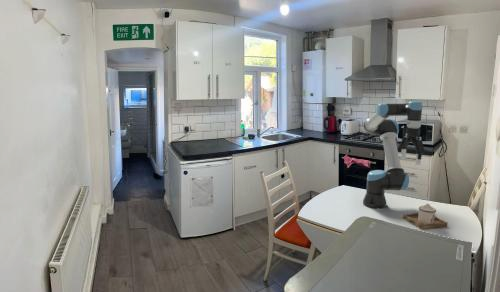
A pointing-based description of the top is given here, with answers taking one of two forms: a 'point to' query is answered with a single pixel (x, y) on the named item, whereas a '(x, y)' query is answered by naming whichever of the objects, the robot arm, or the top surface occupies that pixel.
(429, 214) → the teacup with lid
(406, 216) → the tray
